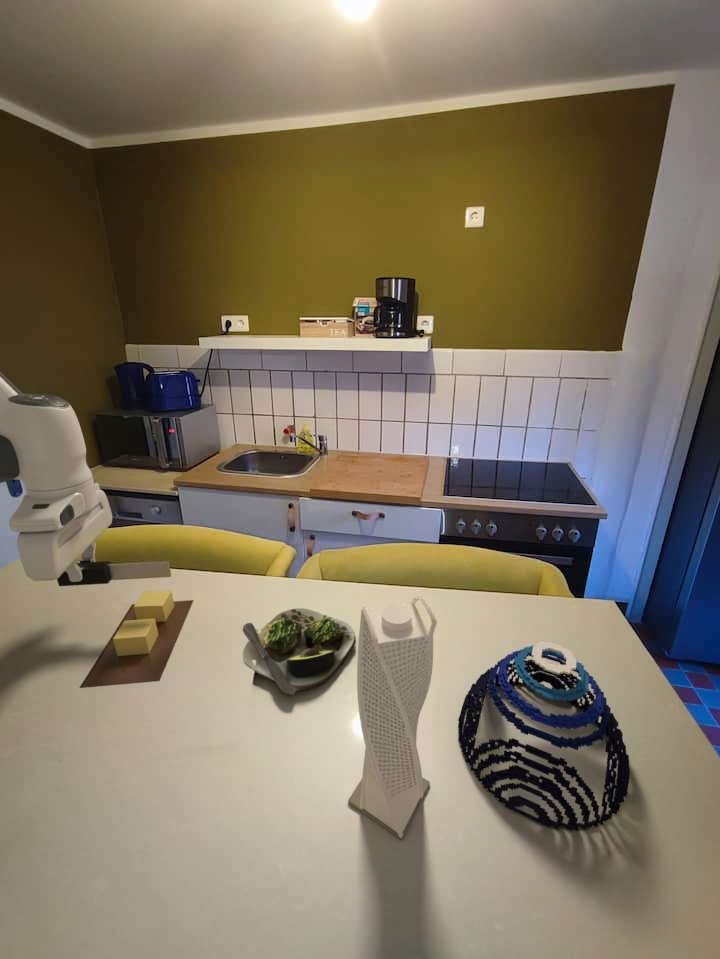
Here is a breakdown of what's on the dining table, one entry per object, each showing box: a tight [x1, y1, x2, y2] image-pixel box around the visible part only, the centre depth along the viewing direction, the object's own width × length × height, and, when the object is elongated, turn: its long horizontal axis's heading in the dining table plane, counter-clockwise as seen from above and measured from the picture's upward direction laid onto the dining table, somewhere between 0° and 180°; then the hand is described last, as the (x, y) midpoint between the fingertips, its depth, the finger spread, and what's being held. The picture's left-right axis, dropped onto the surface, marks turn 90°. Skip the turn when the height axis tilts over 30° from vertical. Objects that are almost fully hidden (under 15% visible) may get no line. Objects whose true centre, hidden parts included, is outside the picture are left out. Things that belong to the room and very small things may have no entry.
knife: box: [56, 560, 172, 587], centre depth 73 cm, size 18×2×3 cm, turn 94°
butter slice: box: [134, 590, 175, 622], centre depth 78 cm, size 5×4×4 cm
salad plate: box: [242, 607, 357, 696], centre depth 71 cm, size 19×18×5 cm
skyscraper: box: [347, 594, 438, 841], centre depth 44 cm, size 8×8×28 cm
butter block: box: [113, 618, 158, 656], centre depth 71 cm, size 5×4×4 cm
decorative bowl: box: [457, 640, 631, 832], centre depth 53 cm, size 20×20×14 cm
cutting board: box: [79, 599, 194, 689], centre depth 73 cm, size 16×20×2 cm
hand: (83, 573), depth 73 cm, fingers closed on knife, 2 cm apart
